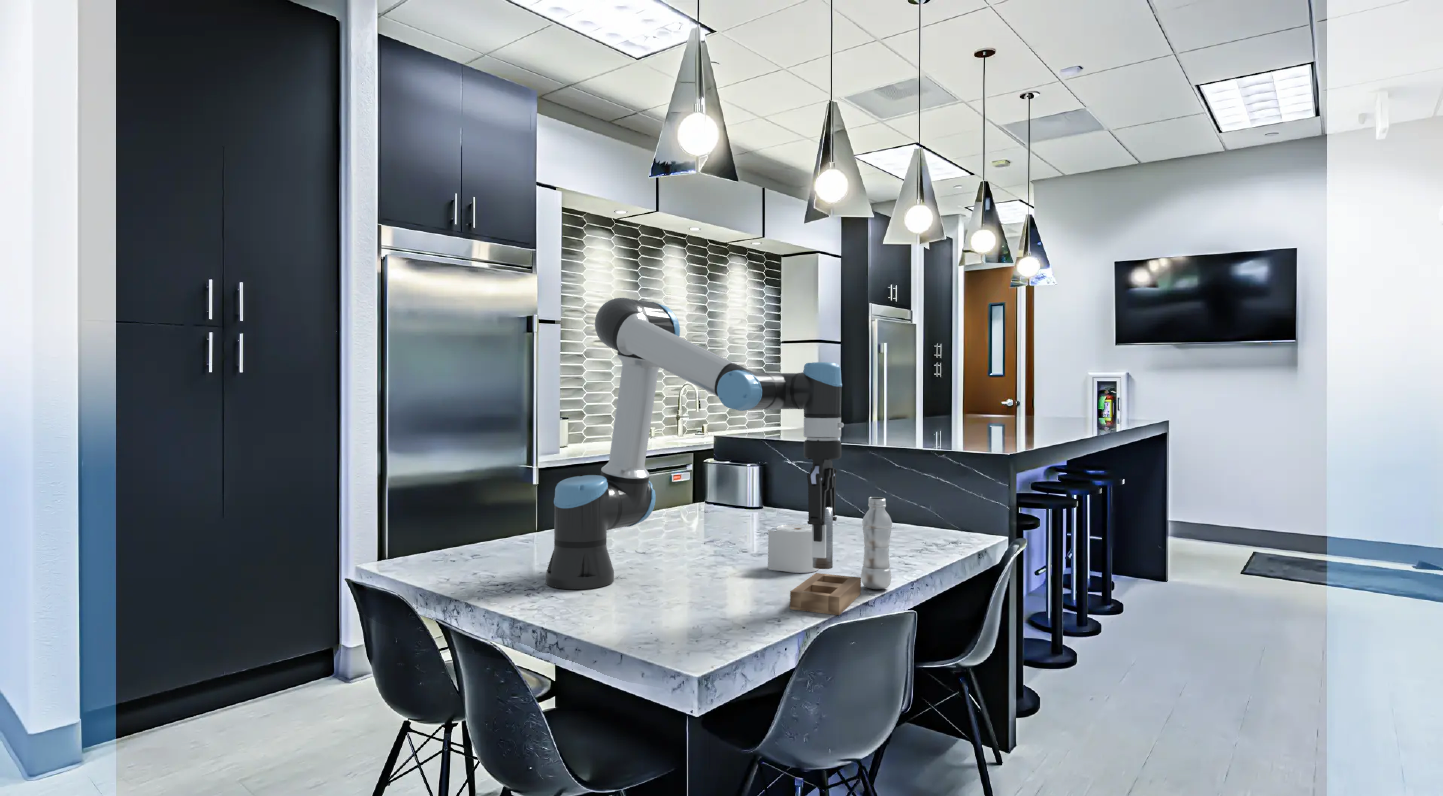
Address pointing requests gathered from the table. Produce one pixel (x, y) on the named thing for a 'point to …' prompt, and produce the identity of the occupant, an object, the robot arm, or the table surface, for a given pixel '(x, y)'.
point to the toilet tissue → (791, 549)
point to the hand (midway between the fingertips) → (822, 554)
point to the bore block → (825, 593)
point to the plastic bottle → (876, 545)
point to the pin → (828, 561)
